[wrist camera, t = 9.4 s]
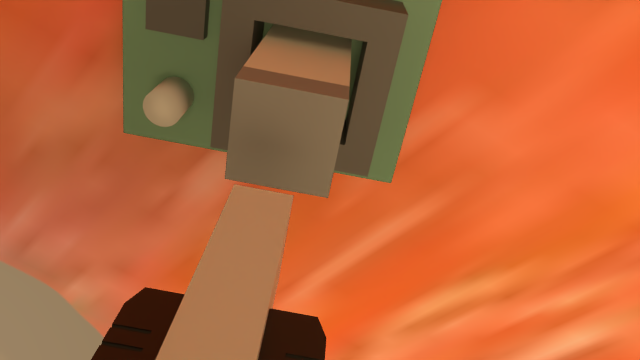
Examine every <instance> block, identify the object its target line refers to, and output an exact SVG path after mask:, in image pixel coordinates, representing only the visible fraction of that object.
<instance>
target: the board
mask: <svg viewBox="0 0 640 360" xmlns="http://www.w3.org/2000/svg"><path fill="white" fill-rule="evenodd" d="M441 2H442V0H123V129H124V133H128V134H133V135H138V136H144V137H149V138H154V139H160V140H165V141H170V142H176V143H181V144H186V145H191V146H197V147H202V148H207V149H213V150H218V151H223V152H227V151H228V141H229V131H230V121H231V111H232V101H233V91H234V81H235V77H236V76H237V74H238V73H239V71H240V70H241V69H242V67H243V66H244V65H245V63H246V62H247V60H248V59H249V58H250V56H251V55H252V53H253V52H254V51H255V49H256V48H257V47H258V45H259V44H260V42H261V41H262V40H263V38H264V37H265V35H266V34H267V33H268V31H269V30H270V29H271V27H272V26H273V24H277V25H282V26H288V27H293V28H298V29H303V30H308V31H313V32H318V33H323V34H328V35H334V36H339V37H344V38H349V39H352V43H351V66H350V89H349V102H348V107H347V112H346V116H345V121H344V126H343V130H342V135H341V140H340V144H339V149H338V154H337V158H336V163H335V168H334V172H335V173H340V174H345V175H351V176H356V177H361V178H367V179H372V180H377V181H382V182H388V183H391V181H392V178H393V174H394V171H395V167H396V163H397V160H398V156H399V153H400V149H401V145H402V142H403V138H404V135H405V131H406V128H407V124H408V120H409V117H410V113H411V110H412V106H413V103H414V99H415V95H416V92H417V88H418V85H419V81H420V77H421V74H422V70H423V67H424V63H425V60H426V56H427V52H428V49H429V45H430V42H431V38H432V35H433V31H434V27H435V24H436V20H437V17H438V13H439V9H440V6H441Z"/></svg>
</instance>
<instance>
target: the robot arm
mask: <svg viewBox="0 0 640 360" xmlns="http://www.w3.org/2000/svg"><path fill="white" fill-rule="evenodd" d="M293 196H294V195H289V194H283V193H278V192H273V191H267V190H262V189H257V188H251V187H246V186H241V185H235V184H234V186H233V188H232V191H231V193H230V195H229V197H228V199H227V202H226V204H225V206H224V208H223V211H222V213H221V215H220V217H219V219H218V222H217V224H216V226H215V228H214V231H213V233H212V235H211V237H210V239H209V242H208V244H207V246H206V248H205V251H204V253H203V255H202V257H201V259H200V262H199V264H198V266H197V268H196V271H195V273H194V275H193V277H192V279H191V282H190V284H189V286H188V288H187V291H186V293H185V294H179V293H174V292H168V291H163V290H157V289H152V288H146V287H145V288H144V289H142V290H141V291H140V292H139V293H137V294H136V295H135V296H133V297H132V298H131V299H129V300H128V301H127V302H125V303H124V305H123V307H122V308H121V310H120V312H119V314H118V315H117V317H116V319H115V320H114V322H113V324H112V327H111V328H110V329H109V330H108V332H107V334H106V335H105V337H104V339H103V341H102V344H101V345H100V346H99V347H98V349H97V351H96V352H95V354H94V356H93V357H92V359H91V360H325V348H326V336H325V334H324V331H323V329H322V326H321V324H320V322H319V319H318V317H314V316H309V315H303V314H298V313H292V312H287V311H281V310H276V309H272V308H273V304H274V299H275V294H276V290H277V285H278V280H279V275H280V269H281V263H282V258H283V252H284V247H285V241H286V235H287V230H288V224H289V218H290V213H291V207H292V201H293Z"/></svg>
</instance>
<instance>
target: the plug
mask: <svg viewBox="0 0 640 360" xmlns="http://www.w3.org/2000/svg"><path fill="white" fill-rule="evenodd" d="M351 43H352V39H349V38H344V37H339V36H334V35H328V34H323V33H318V32H313V31H308V30H303V29H298V28H293V27H288V26H282V25H277V24H273V26H272V27H271V29H270V30H269V31H268V33H267V34H266V35H265V37H264V38H263V40H262V41H261V42H260V44H259V45H258V47H257V48H256V49H255V51H254V52H253V53H252V55H251V56H250V58H249V59H248V60H247V62H246V63H245V65H244V66H243V67H242V69H241V70H240V71H239V73H238V74H237V76H236V77H235V81H234V91H233V101H232V111H231V121H230V131H229V141H228V151H227V161H226V171H225V179H229V180H234V181H240V182H245V183H250V184H256V185H261V186H267V187H272V188H277V189H283V190H288V191H293V192H299V193H304V194H310V195H315V196H320V197H326V198H328V196H329V191H330V186H331V182H332V177H333V172H334V168H335V163H336V158H337V154H338V149H339V144H340V140H341V135H342V130H343V126H344V121H345V116H346V112H347V107H348V102H349V89H350V66H351Z"/></svg>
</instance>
